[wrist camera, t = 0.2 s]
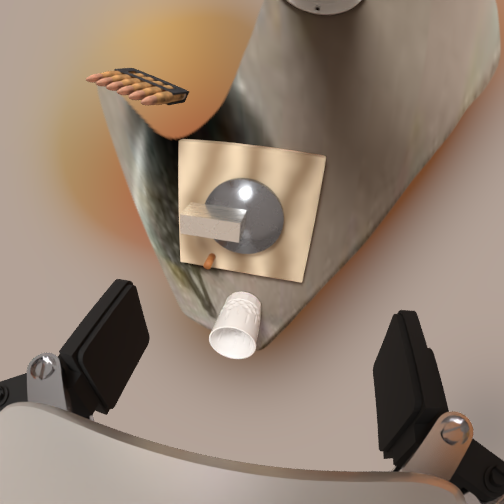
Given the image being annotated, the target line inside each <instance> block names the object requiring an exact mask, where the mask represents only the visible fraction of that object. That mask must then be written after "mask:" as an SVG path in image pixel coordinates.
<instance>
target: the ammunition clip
mask: <svg viewBox="0 0 504 504" xmlns="http://www.w3.org/2000/svg"><path fill="white" fill-rule="evenodd" d="M86 81H89V82H96V85H98V86H107V87H106V88H107V89H108V90H112V91H117V90H118V91H117V93H118V94H120V95H129V98H130V99H132V100H142V101H141V103H142V104H143V105H161V104H167V105H172V104H177V103H183V102H185V100H186V98H187V95H188V93H189V91H187V90H185V89H182V88H180V87H178V86H176V85H173V84H171V83H169V82H166V81H164V80H161V79H159V78H156V77H154V76H152V75H149V74H146V73H144V72H142V71H139V70H136V69H134V68H123V69H115V71H107V72H103V73H99V74H94V75H91V76H89V77H87V78H86Z"/></svg>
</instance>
